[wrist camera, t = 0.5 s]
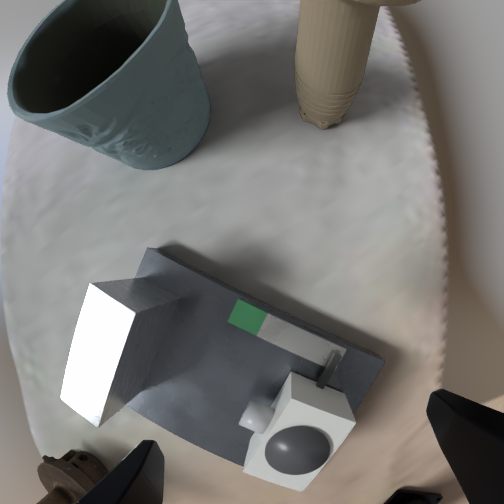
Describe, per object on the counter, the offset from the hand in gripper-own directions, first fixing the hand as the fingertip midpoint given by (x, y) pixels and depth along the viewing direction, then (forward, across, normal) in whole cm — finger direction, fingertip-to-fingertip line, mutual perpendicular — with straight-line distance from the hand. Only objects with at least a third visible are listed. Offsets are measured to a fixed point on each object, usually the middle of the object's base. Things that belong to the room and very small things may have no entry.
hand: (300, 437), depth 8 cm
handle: (+15, -6, -12) cm, 20 cm away
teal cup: (+17, +6, -13) cm, 23 cm away
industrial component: (+10, +20, +18) cm, 28 cm away
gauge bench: (+11, +3, +6) cm, 13 cm away
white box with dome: (+9, -1, +6) cm, 11 cm away
